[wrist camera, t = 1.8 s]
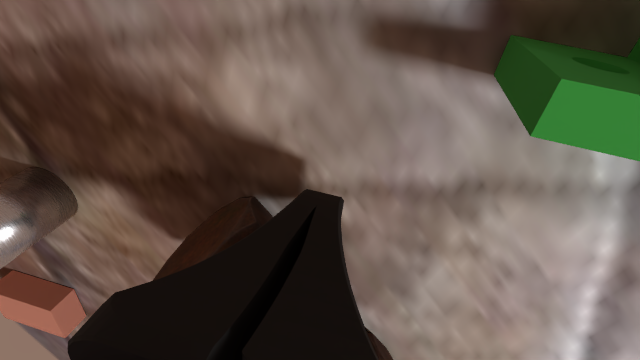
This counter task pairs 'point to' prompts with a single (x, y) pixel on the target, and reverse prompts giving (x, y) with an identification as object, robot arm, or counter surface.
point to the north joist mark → (40, 303)
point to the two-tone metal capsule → (31, 210)
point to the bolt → (230, 243)
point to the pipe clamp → (574, 94)
